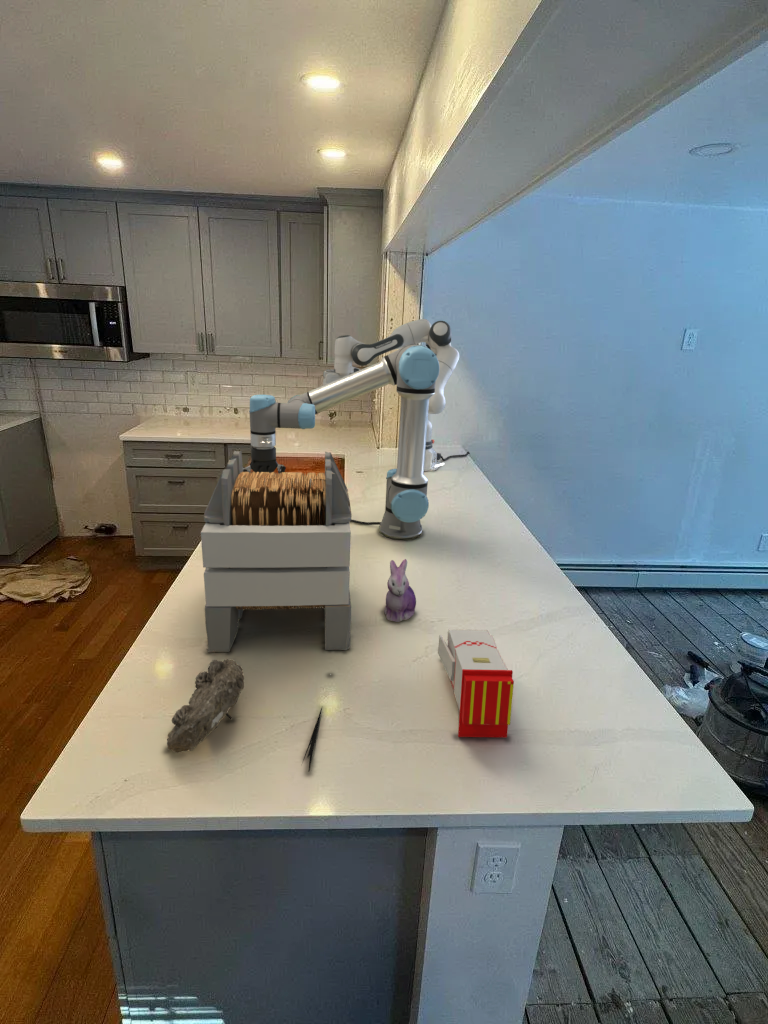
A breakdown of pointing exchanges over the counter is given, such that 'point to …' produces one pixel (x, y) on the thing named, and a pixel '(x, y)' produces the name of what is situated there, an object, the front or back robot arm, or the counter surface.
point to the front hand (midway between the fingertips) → (265, 518)
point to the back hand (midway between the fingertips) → (342, 397)
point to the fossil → (206, 705)
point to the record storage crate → (277, 549)
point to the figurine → (399, 594)
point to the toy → (478, 682)
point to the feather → (313, 740)
